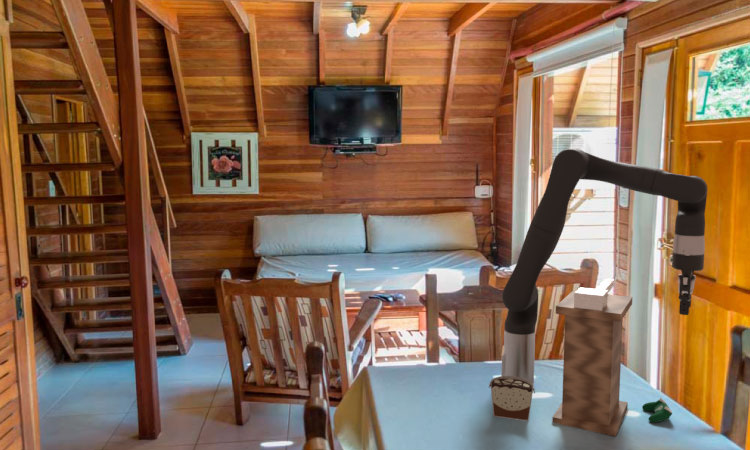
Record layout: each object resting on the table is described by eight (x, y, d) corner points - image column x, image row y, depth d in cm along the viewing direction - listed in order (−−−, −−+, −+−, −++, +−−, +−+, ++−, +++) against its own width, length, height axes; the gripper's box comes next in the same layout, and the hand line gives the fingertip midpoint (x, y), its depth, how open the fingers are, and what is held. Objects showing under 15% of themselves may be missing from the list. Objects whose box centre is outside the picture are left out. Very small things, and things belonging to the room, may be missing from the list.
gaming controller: (658, 430, 162) (676, 416, 161) (648, 420, 162) (666, 406, 161) (649, 415, 171) (667, 402, 170) (640, 406, 171) (657, 392, 170)
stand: (552, 422, 163) (555, 306, 159) (569, 396, 180) (573, 290, 176) (615, 436, 155) (621, 314, 151) (627, 407, 172) (632, 297, 168)
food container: (536, 412, 169) (536, 378, 168) (534, 421, 164) (535, 386, 162) (491, 406, 173) (491, 373, 172) (488, 415, 168) (488, 380, 166)
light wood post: (573, 307, 157) (574, 292, 157) (597, 284, 184) (597, 271, 184) (602, 311, 154) (602, 295, 153) (621, 286, 181) (622, 273, 180)
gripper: (674, 246, 170) (671, 303, 172) (670, 254, 158) (667, 315, 160) (705, 248, 166) (701, 306, 168) (703, 256, 154) (699, 319, 156)
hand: (685, 310), depth 164 cm, fingers open, 8 cm apart
